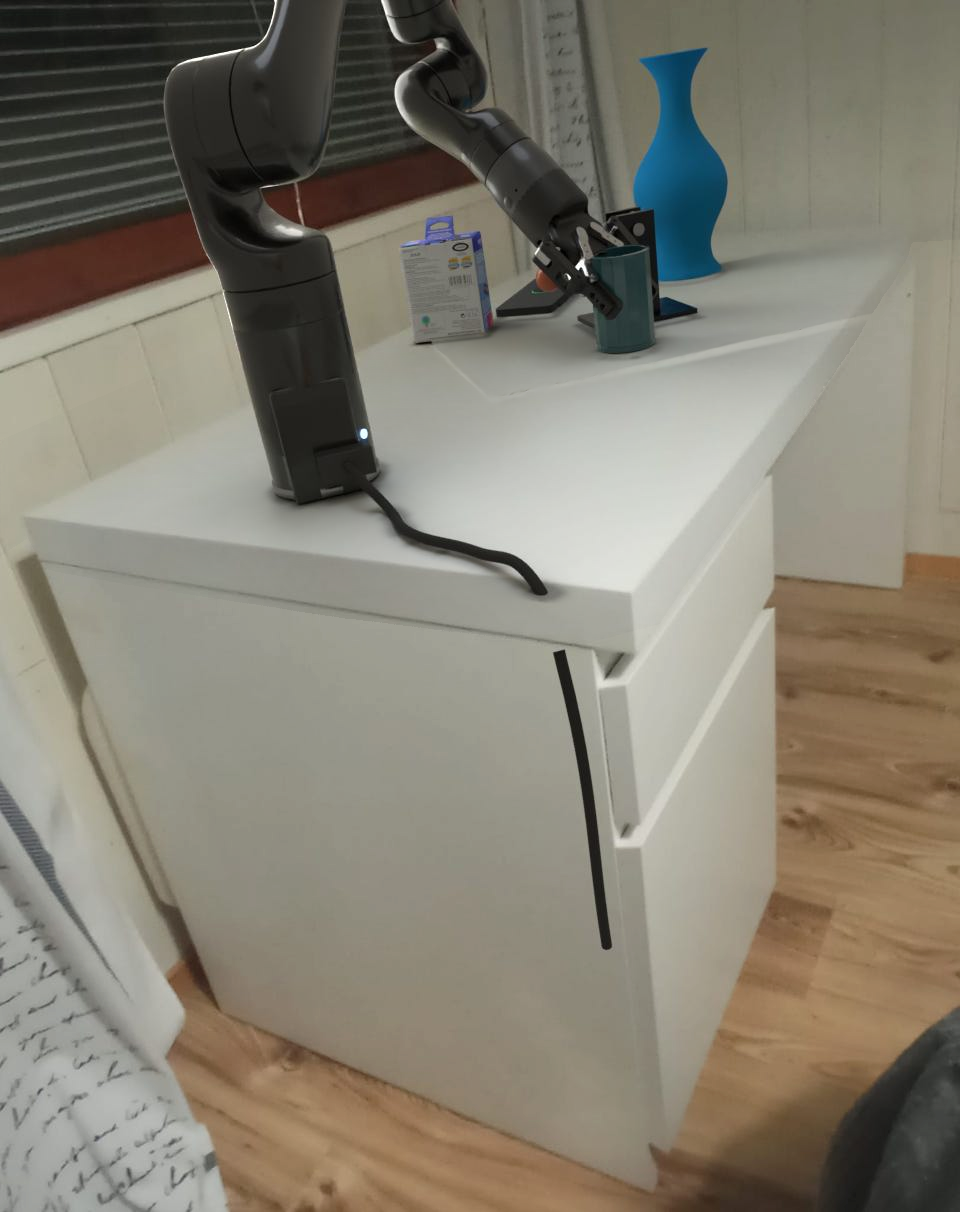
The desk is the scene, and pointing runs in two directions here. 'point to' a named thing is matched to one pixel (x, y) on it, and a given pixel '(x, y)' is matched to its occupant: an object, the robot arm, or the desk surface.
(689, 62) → the vase
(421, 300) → the ink cartridge box
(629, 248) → the cup
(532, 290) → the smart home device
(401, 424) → the desk surface
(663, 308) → the bracket
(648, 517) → the desk surface
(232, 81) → the robot arm
